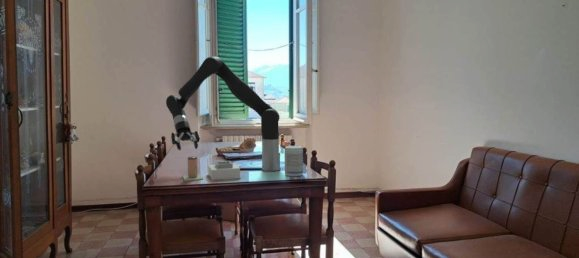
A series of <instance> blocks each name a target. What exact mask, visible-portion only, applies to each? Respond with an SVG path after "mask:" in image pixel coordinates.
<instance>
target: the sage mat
mask: <svg viewBox="0 0 579 258" xmlns="http://www.w3.org/2000/svg"><path fill="white" fill-rule="evenodd" d="M182 178H183V181H185V182H187V181H189V182H190V181H202V180H204V177H203V175H202V174H197V178H188V175H183V176H182Z"/></svg>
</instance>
